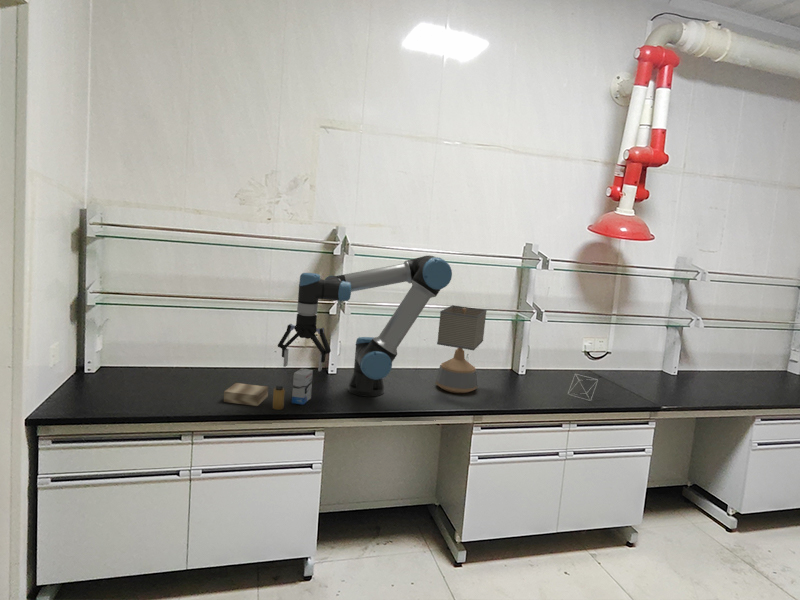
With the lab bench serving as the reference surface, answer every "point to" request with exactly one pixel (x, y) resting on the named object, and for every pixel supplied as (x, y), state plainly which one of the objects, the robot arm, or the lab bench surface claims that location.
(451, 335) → the desk lamp
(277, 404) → the amber bottle
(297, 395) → the ink box
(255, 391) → the beech plinth
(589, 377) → the geometric polyhedron
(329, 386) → the lab bench surface
